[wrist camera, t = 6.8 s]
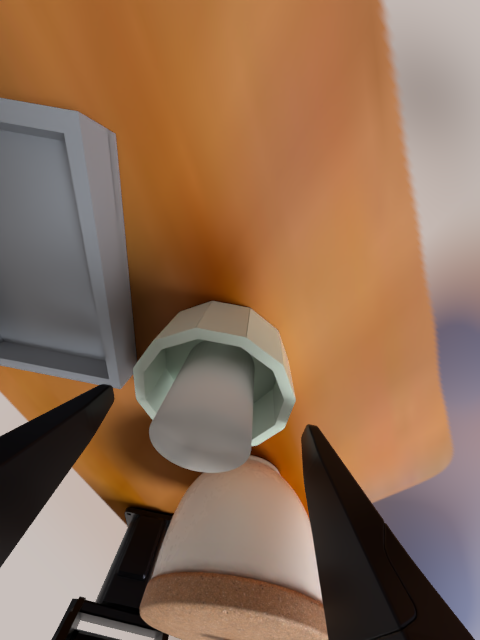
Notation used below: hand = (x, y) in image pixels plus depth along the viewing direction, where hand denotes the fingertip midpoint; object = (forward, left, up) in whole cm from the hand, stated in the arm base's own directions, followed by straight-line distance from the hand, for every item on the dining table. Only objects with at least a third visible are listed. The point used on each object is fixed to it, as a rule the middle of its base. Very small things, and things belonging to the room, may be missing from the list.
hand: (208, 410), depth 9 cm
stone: (0, 0, -3) cm, 3 cm away
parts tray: (+4, +10, -4) cm, 11 cm away
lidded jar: (-12, -4, -4) cm, 13 cm away
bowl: (0, 0, -4) cm, 4 cm away
